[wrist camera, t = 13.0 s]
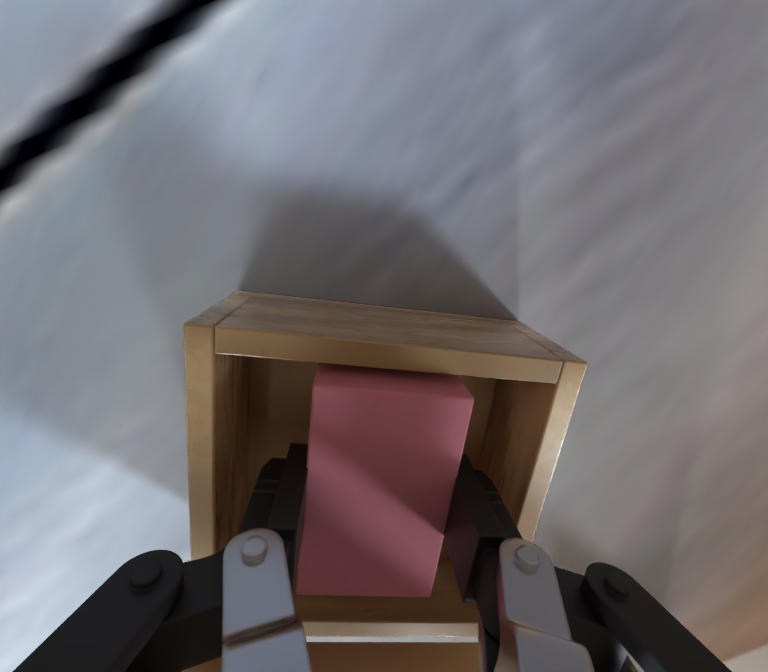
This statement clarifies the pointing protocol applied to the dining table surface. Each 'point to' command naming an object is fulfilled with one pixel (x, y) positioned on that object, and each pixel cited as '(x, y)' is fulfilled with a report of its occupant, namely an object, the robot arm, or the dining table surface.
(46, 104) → the dining table surface
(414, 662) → the box lid
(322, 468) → the pink rectangular block
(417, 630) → the box
